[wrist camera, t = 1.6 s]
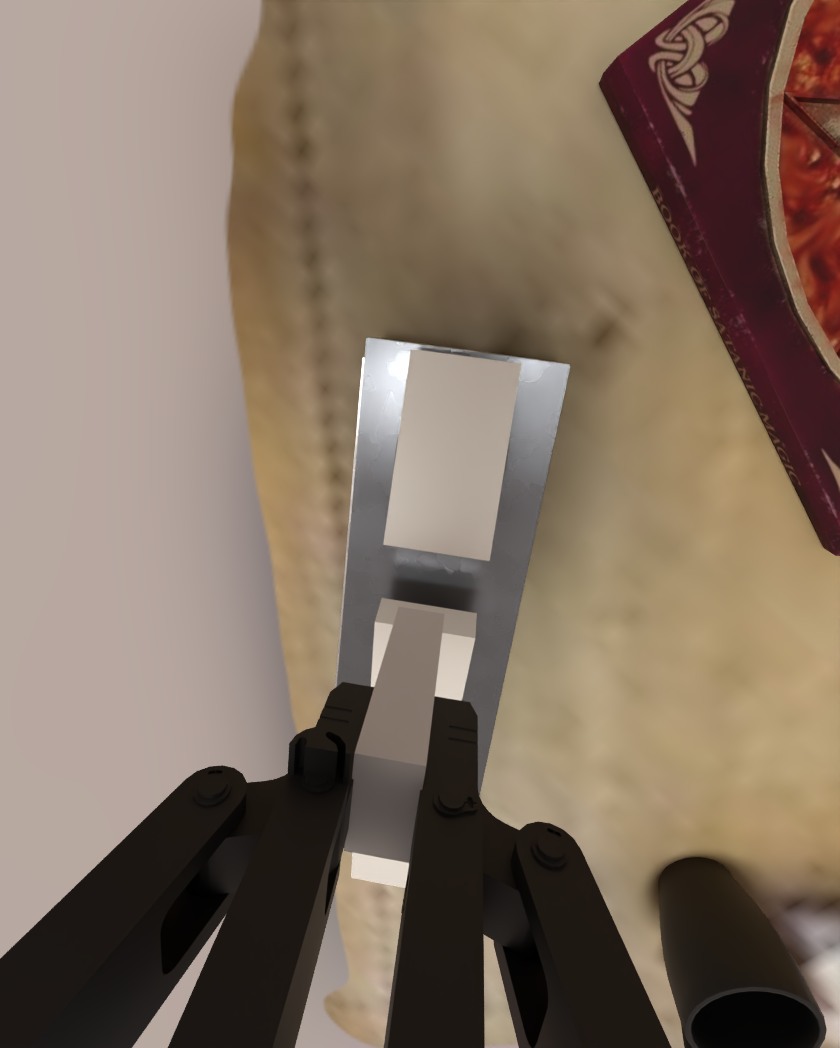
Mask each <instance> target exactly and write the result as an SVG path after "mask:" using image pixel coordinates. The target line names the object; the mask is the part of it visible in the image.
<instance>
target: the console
mask: <svg viewBox="0 0 840 1048" xmlns="http://www.w3.org/2000/svg"><path fill="white" fill-rule="evenodd" d="M411 349H415V350H423V351H430V352H437V353H445V354H452V355H460V356H467V357H475V358H482V359H490V360H497V361H505V362H512V363H520V364H521V370H520V376H519V382H518V388H517V394H516V401H515V407H514V413H513V419H512V425H511V431H510V438H509V449H508V457H507V464H506V470H505V475H504V480H503V484H502V488H501V493H500V500H499V506H498V512H497V518H496V524H495V531H494V537H493V543H492V549H491V555H490V561H485V560H479V559H472V558H466V557H459V556H453V555H447V554H440V553H434V552H427V551H421V550H415V549H408V548H402V547H395V546H389V545H383V543H384V536H385V529H386V522H387V514H388V507H389V500H390V493H391V486H392V479H393V472H394V462H395V452H396V445H397V439H398V434H399V429H400V422H401V415H402V408H403V401H404V394H405V387H406V380H407V373H408V365H409V358H410V351H411ZM570 366H571V365H570V364H566V363H562V362H558V361H551V360H544V359H536V358H529V357H521V356H514V355H506V354H499V353H491V352H484V351H476V350H469V349H461V348H454V347H446V346H439V345H431V344H424V343H416V342H409V341H401V340H394V339H386V338H368V337H366V348H365V358H362V369H361V381H360V393H359V405H358V417H357V429H356V441H355V453H354V465H353V477H352V489H351V501H350V513H349V524H348V536H347V548H346V560H345V572H344V584H343V596H342V608H341V620H340V632H339V644H338V656H337V668H336V679H335V688H336V687H337V686H338V685H339V684H341V683H342V682H347V683H353V684H358V685H364V686H370V687H371V669H372V657H373V642H374V627H375V620H376V616H377V613H378V609H379V606H380V602H381V599H382V598H386V599H392V600H398V601H404V602H410V603H417V604H423V605H429V606H435V607H441V608H448V609H454V610H460V611H466V612H472V613H477V619H476V636H475V642H474V647H473V651H472V656H471V661H470V665H469V670H468V676H467V682H466V688H465V692H464V696H463V698H462V701H466V702H470V703H471V705H472V707H473V708H474V710H475V712H476V714H477V716H478V792H479V795H480V791H481V786H482V781H483V776H484V772H485V767H486V762H487V758H488V753H489V748H490V743H491V739H492V734H493V729H494V725H495V720H496V715H497V710H498V706H499V701H500V696H501V691H502V687H503V682H504V677H505V673H506V668H507V663H508V658H509V654H510V649H511V644H512V640H513V635H514V630H515V625H516V621H517V616H518V611H519V606H520V602H521V597H522V592H523V588H524V583H525V578H526V573H527V569H528V564H529V559H530V555H531V550H532V545H533V540H534V536H535V531H536V526H537V521H538V517H539V512H540V507H541V503H542V498H543V493H544V488H545V484H546V479H547V474H548V470H549V465H550V460H551V455H552V451H553V446H554V441H555V437H556V432H557V427H558V422H559V418H560V413H561V408H562V403H563V399H564V394H565V389H566V385H567V380H568V375H569V370H570ZM344 847H345V844H344Z"/></svg>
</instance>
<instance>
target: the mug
mask: <svg viewBox="0 0 840 1048" xmlns="http://www.w3.org/2000/svg"><path fill="white" fill-rule="evenodd" d="M658 888H659V900H660V929H661V940H662V948H663V955H664V961H665V966H666V971H667V976H668V980H669V983H670V987H671V990H672V994H673V997H674V1000H675V1004H676V1007H677V1010H678V1014H679V1017H680V1020H681V1025H682V1033H683V1040H684V1046H685V1048H820V1046H821V1045H822V1043H823V1041H824V1040H825V1035H826V1025H825V1020H824V1016H823V1014H822V1012H821V1010H820V1008H819V1006H818V1004H817V1002H816V1000H815V998H814V996H813V994H812V992H811V990H810V989H809V987H808V985H807V983H806V981H805V979H804V977H803V975H802V973H801V971H800V969H799V967H798V966H797V964H796V962H795V960H794V958H793V957H792V955H791V953H790V952H789V950H788V949H787V947H786V946H785V944H784V942H783V941H782V939H781V938H780V936H779V934H778V933H777V932H776V930H775V929H774V927H773V926H772V924H771V923H770V922H769V920H768V919H767V917H766V916H765V915H764V914H763V912H762V911H761V910H760V908H759V907H758V906H757V904H756V903H755V902H754V901H753V900H752V898H751V897H750V896H749V895H748V894H747V893H746V891H745V890H744V889H743V888H742V887H741V886H740V885H739V883H738V882H737V881H736V880H735V879H734V877H733V876H732V875H731V873H730V872H729V871H728V870H727V869H726V868H725V867H724V866H723V865H721V864H719V863H718V862H716V861H713V860H710V859H705V858H688V859H683V860H680V861H677V862H675V863H673V864H671V865H670V866H668V867H667V868H666V869H665V870H664V871H663V873H662V874H661V876H660V879H659V884H658Z"/></svg>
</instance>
